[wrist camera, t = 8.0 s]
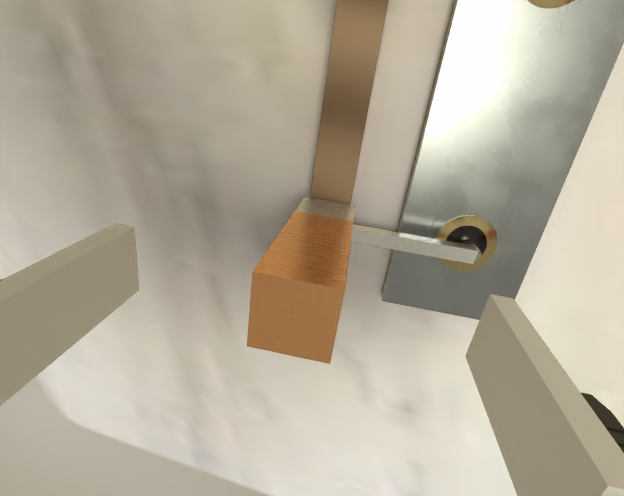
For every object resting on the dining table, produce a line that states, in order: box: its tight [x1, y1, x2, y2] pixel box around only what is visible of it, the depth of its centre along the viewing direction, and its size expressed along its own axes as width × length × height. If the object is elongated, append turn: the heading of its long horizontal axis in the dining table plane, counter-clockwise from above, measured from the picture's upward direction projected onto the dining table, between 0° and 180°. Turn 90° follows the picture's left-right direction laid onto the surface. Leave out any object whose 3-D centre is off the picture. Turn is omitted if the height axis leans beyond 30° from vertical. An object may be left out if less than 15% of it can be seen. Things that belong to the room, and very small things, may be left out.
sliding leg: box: [247, 197, 481, 364], centre depth 16 cm, size 3×10×11 cm, turn 82°
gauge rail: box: [310, 0, 388, 204], centre depth 17 cm, size 28×10×7 cm, turn 172°
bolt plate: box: [382, 0, 624, 320], centre depth 19 cm, size 24×8×1 cm, turn 172°
